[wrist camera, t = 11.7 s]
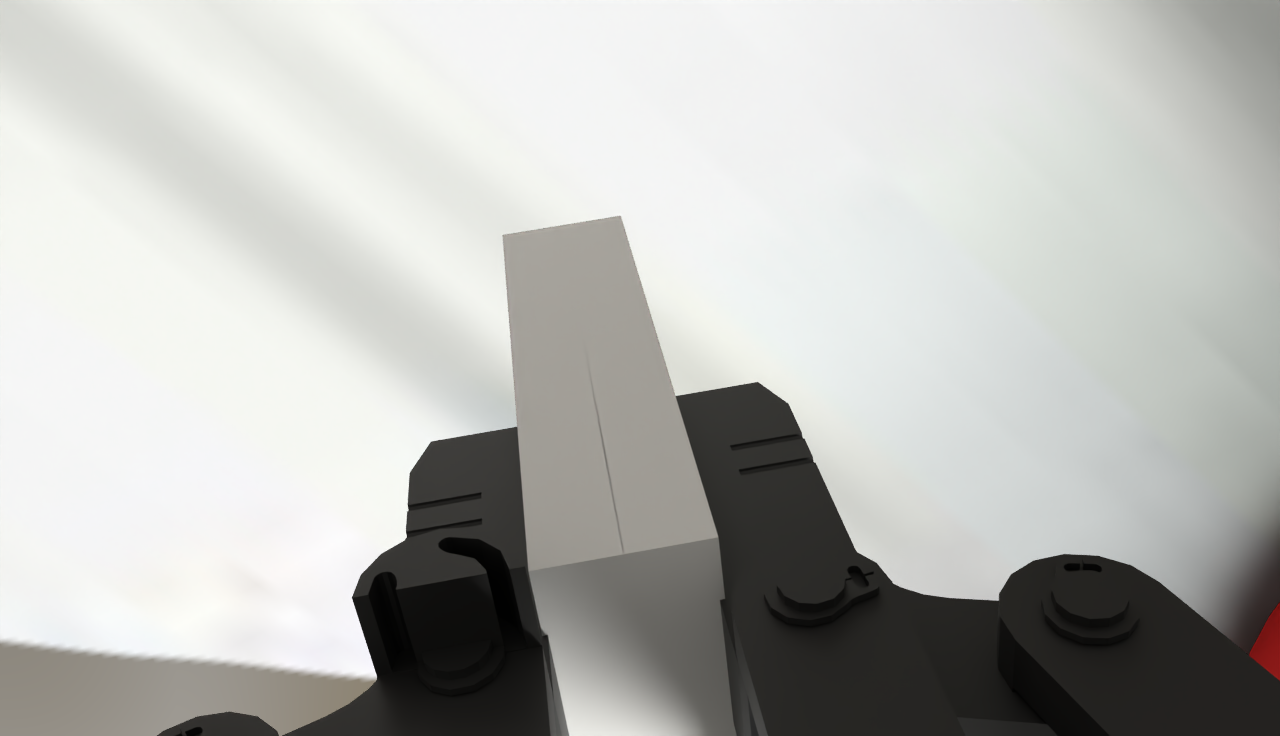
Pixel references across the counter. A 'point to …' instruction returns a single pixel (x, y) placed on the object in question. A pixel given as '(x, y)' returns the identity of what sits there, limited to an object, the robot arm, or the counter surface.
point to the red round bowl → (1269, 644)
